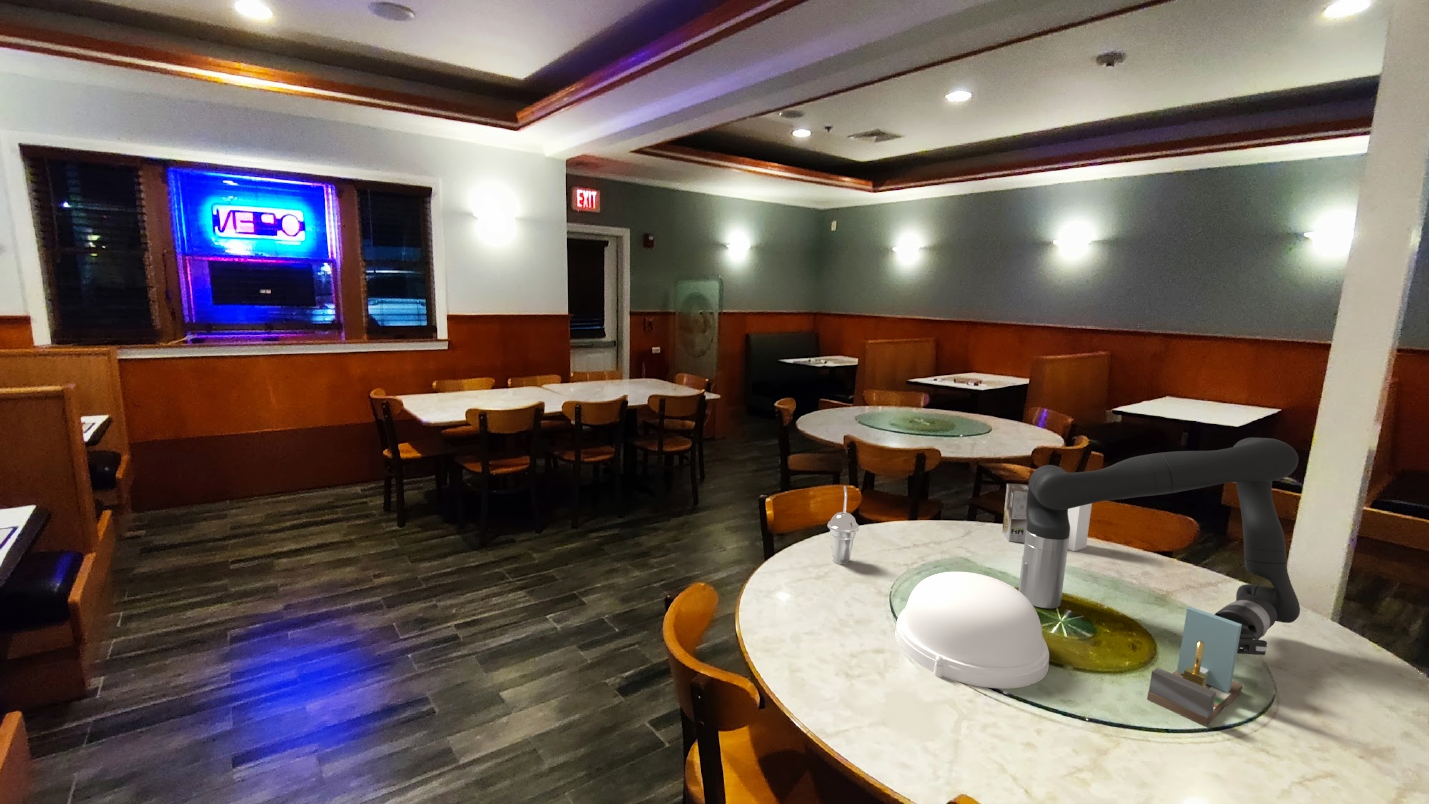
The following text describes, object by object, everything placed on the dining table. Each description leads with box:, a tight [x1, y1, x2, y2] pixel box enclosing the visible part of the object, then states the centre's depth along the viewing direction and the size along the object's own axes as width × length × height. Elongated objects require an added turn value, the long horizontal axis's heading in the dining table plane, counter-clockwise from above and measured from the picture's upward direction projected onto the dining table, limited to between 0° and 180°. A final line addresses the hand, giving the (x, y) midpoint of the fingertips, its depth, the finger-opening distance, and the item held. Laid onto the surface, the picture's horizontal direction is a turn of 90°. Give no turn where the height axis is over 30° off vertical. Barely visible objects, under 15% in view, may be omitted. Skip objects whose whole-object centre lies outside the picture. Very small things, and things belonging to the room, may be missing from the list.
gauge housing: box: [1146, 666, 1243, 727], centre depth 119 cm, size 18×9×6 cm, turn 125°
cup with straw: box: [826, 485, 860, 565], centre depth 175 cm, size 8×9×20 cm
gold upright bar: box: [1183, 641, 1208, 687], centre depth 118 cm, size 2×3×8 cm, turn 35°
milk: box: [1068, 503, 1093, 552], centre depth 191 cm, size 6×6×22 cm
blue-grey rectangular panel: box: [1176, 606, 1242, 693], centre depth 119 cm, size 4×8×13 cm, turn 35°
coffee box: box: [1001, 483, 1029, 544], centre depth 198 cm, size 9×6×16 cm
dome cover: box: [894, 571, 1050, 689], centre depth 134 cm, size 32×30×14 cm
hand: (1209, 647), depth 121 cm, fingers closed
